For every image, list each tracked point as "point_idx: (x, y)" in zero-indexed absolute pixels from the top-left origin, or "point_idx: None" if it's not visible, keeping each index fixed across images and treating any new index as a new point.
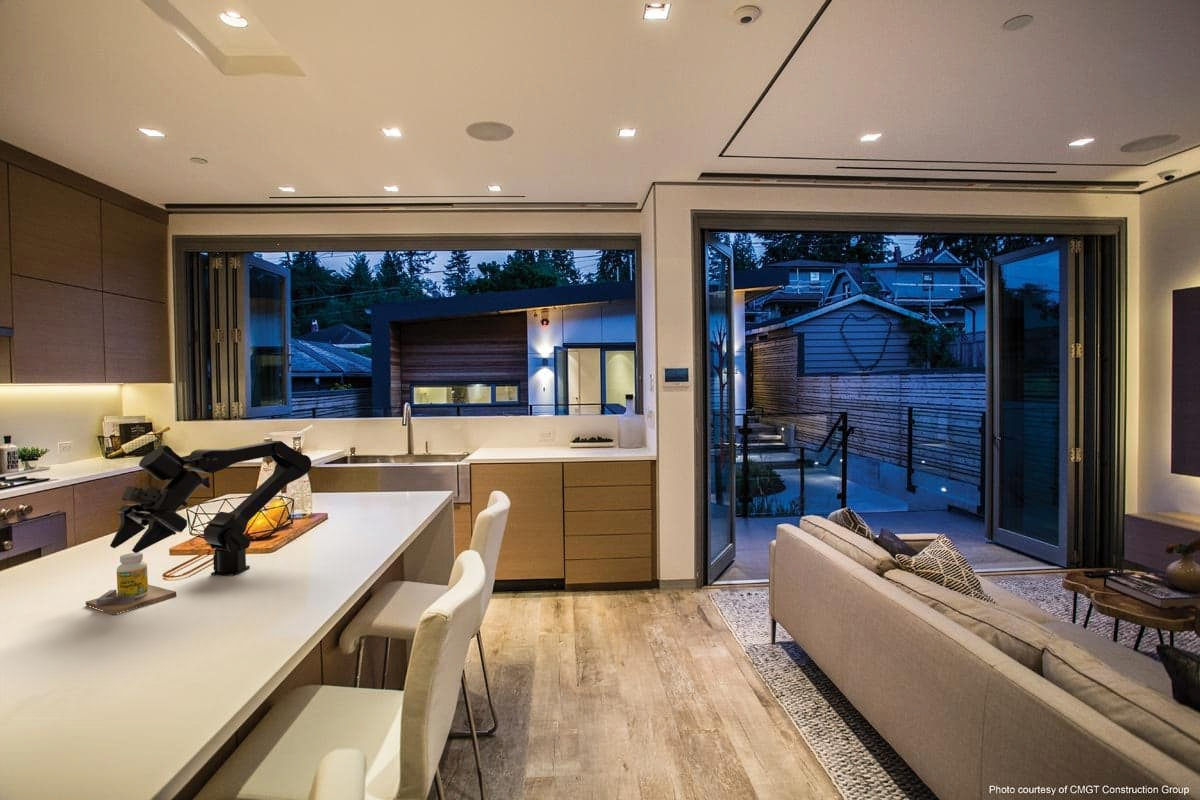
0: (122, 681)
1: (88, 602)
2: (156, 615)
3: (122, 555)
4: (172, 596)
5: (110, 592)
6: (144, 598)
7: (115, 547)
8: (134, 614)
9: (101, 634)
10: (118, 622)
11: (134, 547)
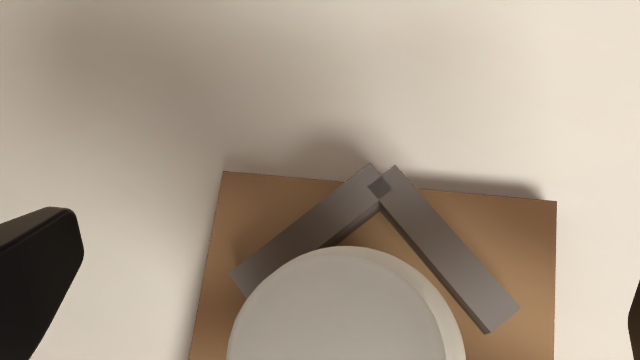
0: None
1: (522, 199)
2: None
3: (419, 312)
4: None
5: (458, 277)
6: None
7: (630, 332)
8: (135, 221)
9: (56, 31)
10: (113, 131)
11: (28, 221)
